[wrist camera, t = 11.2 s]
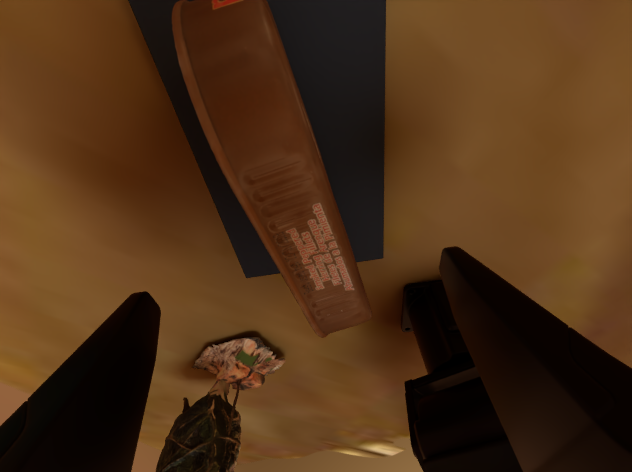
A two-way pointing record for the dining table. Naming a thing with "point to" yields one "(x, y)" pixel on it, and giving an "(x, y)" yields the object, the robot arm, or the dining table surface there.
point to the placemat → (321, 106)
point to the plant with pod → (217, 409)
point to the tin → (269, 152)
